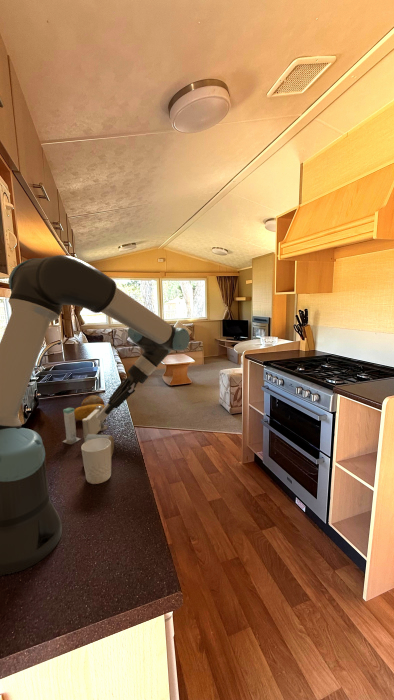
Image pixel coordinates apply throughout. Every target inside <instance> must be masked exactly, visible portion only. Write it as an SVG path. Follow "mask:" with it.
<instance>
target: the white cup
mask: <svg viewBox="0 0 394 700" xmlns="http://www.w3.org/2000/svg"><path fill="white" fill-rule="evenodd" d="M80 450H81V456H82V463H83V467H84V472H85V473H84V474H85V479H86V481H87V483H89V484H92V485H96V484H97V485H98V484H102V483H105V482H106V481H108V480H109V479H110V478H112V477H111V475H112V456H111V441H110V440H108V439H105V438H97V439H92V440H89V441H87V442H85V443H84V442H83V444H81V448H80Z"/></svg>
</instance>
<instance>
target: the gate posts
mask: <svg viewBox="0 0 394 700" xmlns="http://www.w3.org/2000/svg"><path fill="white" fill-rule="evenodd" d="M102 409H103V406H101V405H99V406H96V410H99V412H101V410H102ZM74 410H75V408H74V407H66V408H63V410H62V412H63V418H64V427H65V428H64V429H65V437H66V438H65V439H64V440H63V441H62V443H64V444H67V445H73V444H75V443H76V442H79V441H80V440H81V439H82V438H80V437H77V429H76V419H75V415H74ZM100 425H101V430H100V431H99V432H104V431H106V430H108V425H107V424H106V425H105V420H104V421H103V422H102V421H100Z"/></svg>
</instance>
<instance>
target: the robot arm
mask: <svg viewBox="0 0 394 700" xmlns="http://www.w3.org/2000/svg"><path fill="white" fill-rule="evenodd" d="M8 288H9V290H10V296H9V298H8V304H9V305H10V307H11V310H12V311H11V314H10V316H9V320H8V322H7V324H6V327H5V329H4V332H3V334H2V337H1V340H0V576H6V575H5V574H8V575H11V573H12V574H16V573H18V572H21V571H25V570H26V569H29V568H30V567H32V566H34V565H36V564H38V563H39V562H40V561H43V559H45V558H46V557H47V556H48V555H49V554H50V553H51V552H52V551H53V550H54V549H55V547H57V545H58V543H59V542H60V540H61V537H62V533H63V527H62V526H63V525H62V520H61V517H60V515H59V513H58V512H57V510H56V508H55V506H54V504H53V502H52V501H51V499H50V493H49V483H48V475H47V473H48V472H47V465H46V464H47V463H46V451H45V446H44V444H43V438H42V437H41V435H40V434H39V433H38V432H37V431H35V430H32V429H29V428H25V427H22V421H21V420H20V418H19V416H18V414H19V411H20V409H21V406H22V403H23V401H24V398H25V395H26V392H27V389H28V387H29V383H30V380H31V378H32V375H33V372H34V369H35V367H36V363H37V360H38V358H39V355H40V352H41V349H42V347H43V344H44V343H45V342H44V341H45V338H46V336H47V332H48V330H49V327H50V325H51V324H50V323H52V322H54V321H56V320H58V319H59V318H60V316H61V312H62V310H63V306H74V307H81V308H84V309H86V310H88V311H91V312H92V313H95V314H99V313H102V314H104V315H106V316H108V317H109V318H111V319H113V320H115V321H117V322H118V323H120V324H122V325H124V326H125V327H127V328H128V329H127V336H128V338H129V339H130V340H131V341H132V343H134V344H135V345H137V346H138V347H139V349H141V350H142V351H143V353H141V355H140V356H139V357H138V358H137V359H136V360H135V362H134V364H132V365H131V366H130V367H129V369H128V370H127V373H128V374H129V376H128V377H125V378H123V379H122V381H121V382H120V383H119V385H118V386H117V388H116V389H115V390H114V391H113V393H112V394H111V396H110V397H109V398H108V402H107V404H106V405H105V407H104V408H103V409H102V410H101V412H100V413H99V414H98V415H97V416H96V417H97V419H99V420H100V421H102V422H103V421H104V422H105V420H106V418H107V417H108V416H110V414H111V413H112V412H113V410H114V409H116V410H117V409H118V408H119V407H120V406H121V405H122V404H123V403H124V402H125V401H126V400H127V399H128V398H129V397H130V396H131V395H132V394H134V393H135V392H136V387H137V386H138V383H140V384H144V383H146V381H147V380H148V379H149V376H151V374H152V373H153V372H154V373H155V371H156V369H157V368H158V366H159V365H160V364H161V363H162V362H163V361H164V360H165V358H166V357H167V356H168V355H170V353H171V351H174V352H175V351H185V350H187V348H188V347H189V344H190V340H191V339H190V338H191V337H190V333H189V331H188V330H187V329H186V328H183V327H175V326H173V325H172V324H170V323H169V322H167V321H166V320H164V319H163V318H161V317H160V316H159V315H157V314H156V313H155V312H153V311H151V310H150V309H148V308H147V307H146V306H144V305H143V304H141V302H138V301H137V300H136V299H134V298H133V297H131V296H130V295H128V294H127V293H125V292H124V291H123V290H121V289H120V288H119V287H117V283H116V281H115V280H114V279H112V278H111V277H110V276H109V275H107V274H105V273H104V272H102V271H101V270H99V269H97V268H96V267H94V266H93V265H91V264H89V263H88V262H85V261H84V260H82V259H80V258H77V257H73V256H70V255H64V254H58V255H53V256H46V257H42V258H37V257H36V258H34V257H33V258H30V259H27V260H24V261H22V262H20V263H18V264H17V265H15V266H14V268H13V269H12V270H11V272H10V275H9V277H8ZM15 572H16V573H15ZM2 574H3V575H2Z"/></svg>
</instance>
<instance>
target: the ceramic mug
mask: <svg viewBox="0 0 394 700" xmlns="http://www.w3.org/2000/svg"><path fill="white" fill-rule="evenodd" d="M97 438H105V439H108V440H110V441H111V457H112V456H113V454H114V449H115V439H114V437H113V436H112V435H109V434H96V435H95V434H88V435H87V436H86V438H85V441H84V440H83V444H84V443H85V442H87V441H89V440H92V439H97Z"/></svg>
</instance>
